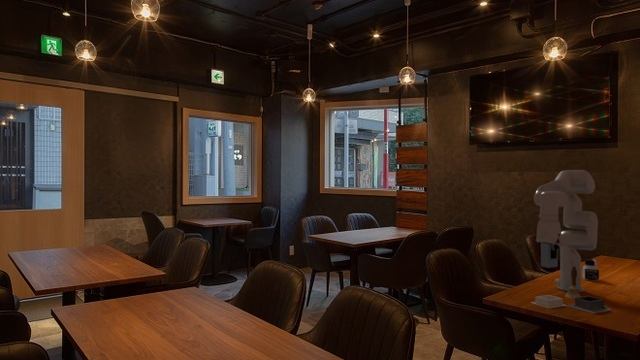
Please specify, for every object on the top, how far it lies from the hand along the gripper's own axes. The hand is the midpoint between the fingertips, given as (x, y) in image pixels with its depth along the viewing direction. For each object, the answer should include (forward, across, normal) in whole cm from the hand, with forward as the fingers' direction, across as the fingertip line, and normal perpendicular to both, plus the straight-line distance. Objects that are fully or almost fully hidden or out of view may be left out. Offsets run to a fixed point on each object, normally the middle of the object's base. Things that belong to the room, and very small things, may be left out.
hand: (549, 257), depth 200 cm
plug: (+4, 0, 0) cm, 4 cm away
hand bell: (+23, -4, +21) cm, 32 cm away
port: (+23, +12, +11) cm, 28 cm away
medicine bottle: (+24, -29, +69) cm, 79 cm away
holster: (+23, 0, -1) cm, 23 cm away
